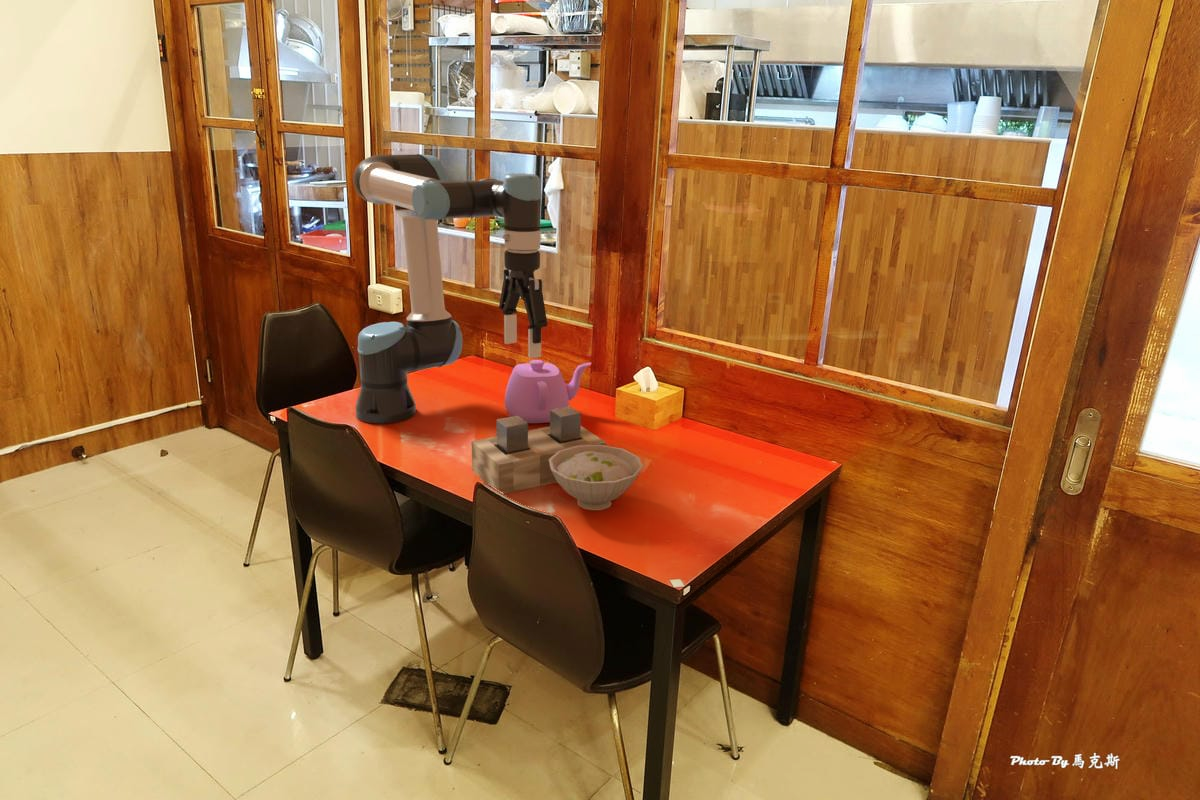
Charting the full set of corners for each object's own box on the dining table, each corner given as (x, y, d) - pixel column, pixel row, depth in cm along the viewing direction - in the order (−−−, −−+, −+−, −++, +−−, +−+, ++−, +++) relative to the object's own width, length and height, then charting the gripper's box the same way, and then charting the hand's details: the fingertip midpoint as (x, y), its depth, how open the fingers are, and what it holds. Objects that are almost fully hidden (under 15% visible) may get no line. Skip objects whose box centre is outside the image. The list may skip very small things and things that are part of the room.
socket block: (472, 470, 177) (471, 441, 174) (574, 449, 190) (574, 421, 187) (498, 495, 165) (498, 464, 163) (605, 471, 178) (606, 442, 176)
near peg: (496, 447, 173) (496, 419, 171) (517, 443, 175) (517, 415, 173) (506, 455, 169) (506, 426, 167) (527, 451, 171) (527, 423, 169)
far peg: (549, 436, 179) (550, 409, 177) (569, 433, 182) (569, 406, 180) (560, 444, 175) (561, 417, 173) (580, 440, 178) (580, 413, 176)
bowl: (567, 531, 152) (568, 484, 148) (534, 489, 168) (534, 446, 165) (657, 515, 159) (660, 469, 156) (617, 476, 176) (619, 434, 173)
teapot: (511, 435, 197) (510, 377, 192) (501, 406, 216) (500, 352, 211) (600, 430, 202) (602, 373, 197) (583, 402, 221) (584, 349, 216)
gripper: (483, 242, 175) (484, 338, 183) (531, 260, 156) (531, 366, 164) (514, 240, 179) (514, 334, 186) (565, 258, 160) (563, 362, 167)
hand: (522, 349), depth 175 cm, fingers open, 11 cm apart
